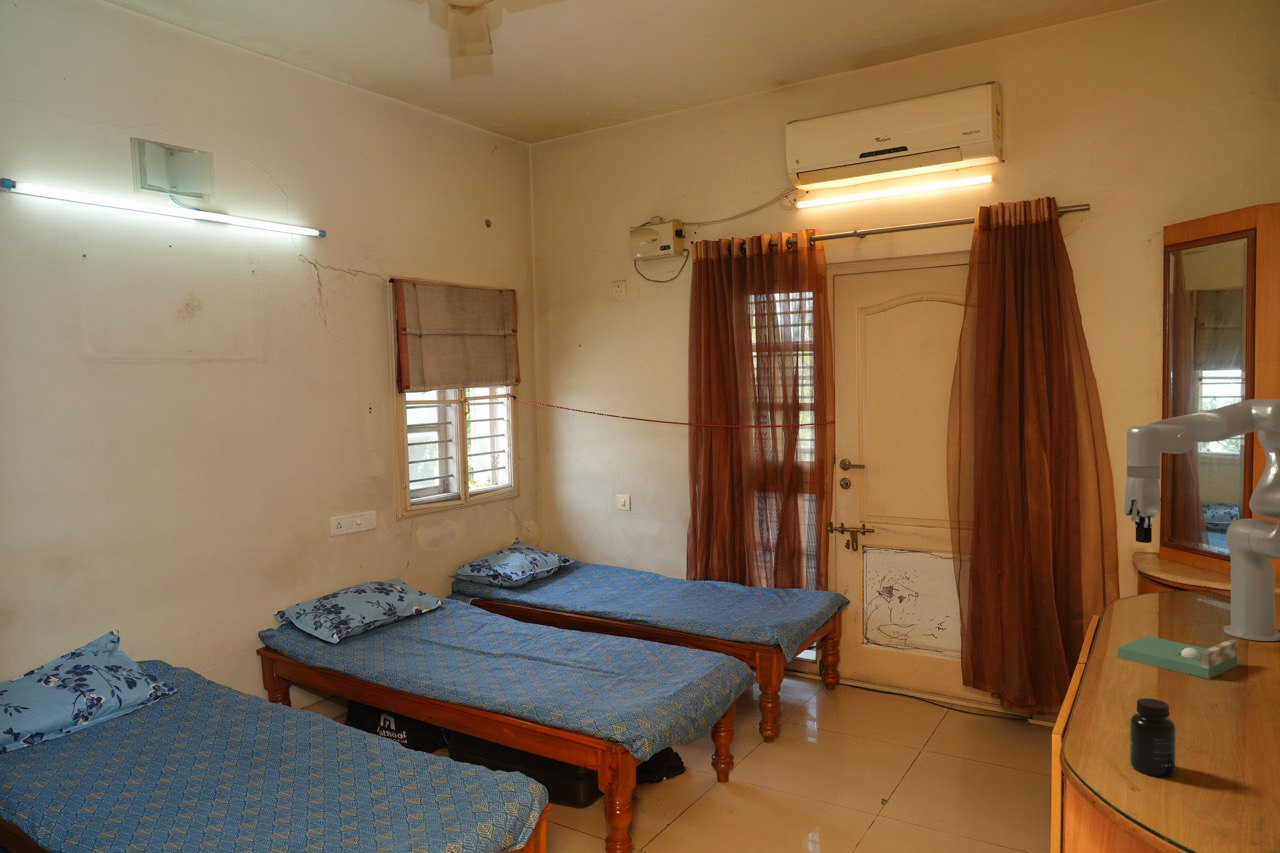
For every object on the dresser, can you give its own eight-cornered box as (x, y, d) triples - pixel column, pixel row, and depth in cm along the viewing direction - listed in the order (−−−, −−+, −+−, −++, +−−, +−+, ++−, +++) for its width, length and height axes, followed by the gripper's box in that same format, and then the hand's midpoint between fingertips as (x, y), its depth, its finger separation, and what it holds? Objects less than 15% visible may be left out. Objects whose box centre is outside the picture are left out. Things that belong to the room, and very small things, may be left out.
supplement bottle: (1121, 761, 146) (1121, 696, 145) (1156, 759, 146) (1156, 694, 146) (1148, 779, 139) (1148, 711, 138) (1185, 777, 139) (1185, 709, 139)
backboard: (1230, 653, 196) (1230, 639, 196) (1237, 655, 195) (1237, 640, 195) (1201, 666, 187) (1201, 652, 187) (1208, 668, 186) (1208, 653, 186)
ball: (1203, 664, 196) (1184, 660, 199) (1203, 648, 196) (1184, 644, 199) (1197, 668, 194) (1178, 664, 197) (1197, 652, 193) (1178, 648, 196)
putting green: (1148, 645, 211) (1148, 635, 211) (1237, 665, 195) (1237, 655, 195) (1117, 657, 202) (1117, 647, 202) (1208, 679, 186) (1208, 668, 186)
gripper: (1141, 470, 219) (1142, 537, 220) (1114, 474, 211) (1114, 543, 211) (1172, 472, 213) (1172, 540, 213) (1145, 475, 204) (1145, 547, 205)
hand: (1143, 541), depth 212 cm, fingers closed
